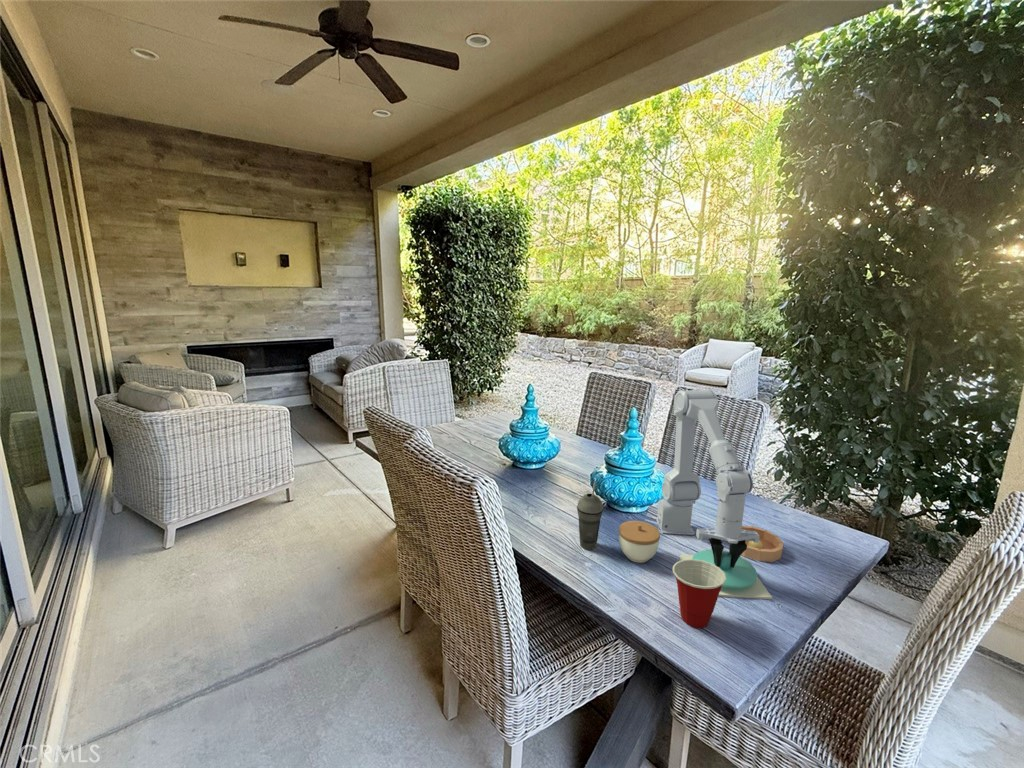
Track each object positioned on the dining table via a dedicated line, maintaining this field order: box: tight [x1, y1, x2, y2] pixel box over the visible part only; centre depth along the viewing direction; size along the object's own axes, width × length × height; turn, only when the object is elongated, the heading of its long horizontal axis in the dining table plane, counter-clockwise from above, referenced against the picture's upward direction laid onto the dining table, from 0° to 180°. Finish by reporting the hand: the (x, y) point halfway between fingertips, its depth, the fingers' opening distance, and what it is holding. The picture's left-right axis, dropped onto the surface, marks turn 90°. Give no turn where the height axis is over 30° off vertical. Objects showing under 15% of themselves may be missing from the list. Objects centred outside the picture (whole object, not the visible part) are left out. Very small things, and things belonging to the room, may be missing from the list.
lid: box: [692, 549, 758, 589], centre depth 116 cm, size 15×15×4 cm
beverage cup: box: [576, 480, 604, 551], centre depth 128 cm, size 7×7×20 cm
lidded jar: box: [618, 520, 661, 564], centre depth 124 cm, size 11×11×9 cm
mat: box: [679, 554, 773, 600], centre depth 117 cm, size 17×16×1 cm
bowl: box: [728, 525, 784, 563], centre depth 129 cm, size 13×13×4 cm
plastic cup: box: [672, 559, 726, 629], centre depth 101 cm, size 11×11×12 cm
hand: (723, 565), depth 116 cm, fingers closed on lid, 3 cm apart
